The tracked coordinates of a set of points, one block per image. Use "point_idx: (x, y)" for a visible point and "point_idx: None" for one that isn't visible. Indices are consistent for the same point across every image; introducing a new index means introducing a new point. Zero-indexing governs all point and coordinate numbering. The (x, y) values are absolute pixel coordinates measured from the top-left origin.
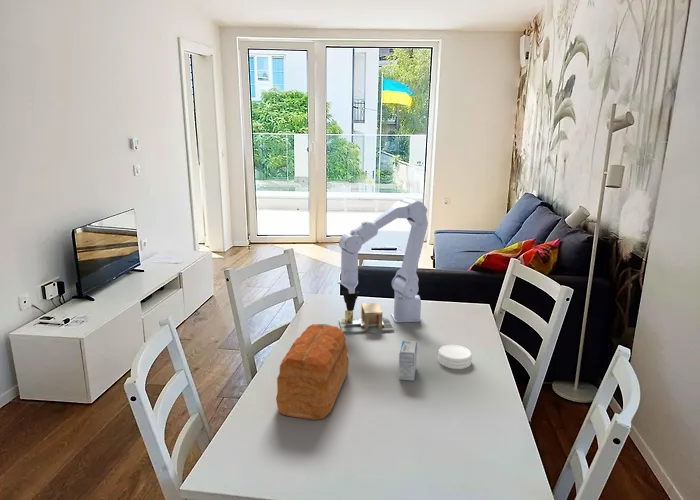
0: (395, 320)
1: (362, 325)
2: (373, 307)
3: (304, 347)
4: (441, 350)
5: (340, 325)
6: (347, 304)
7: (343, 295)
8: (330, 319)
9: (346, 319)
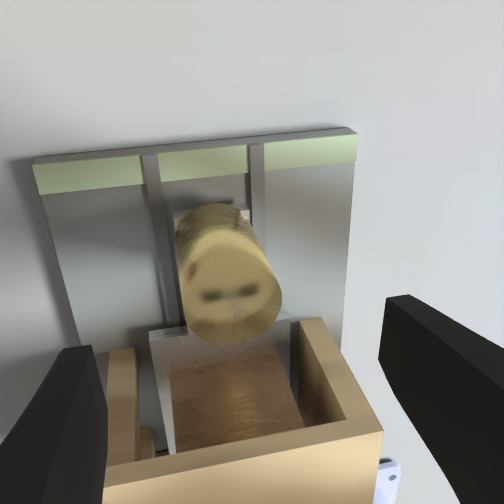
0: None
1: (150, 347)
2: None
3: None
4: None
5: (193, 150)
6: (31, 437)
7: (472, 344)
8: (407, 39)
9: (187, 239)
